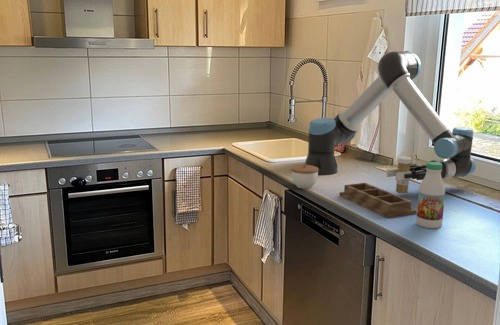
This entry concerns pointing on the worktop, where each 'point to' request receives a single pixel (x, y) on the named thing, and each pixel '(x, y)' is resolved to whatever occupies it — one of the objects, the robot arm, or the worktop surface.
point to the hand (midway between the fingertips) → (391, 174)
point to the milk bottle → (431, 197)
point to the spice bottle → (403, 167)
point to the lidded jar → (304, 175)
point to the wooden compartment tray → (378, 200)
